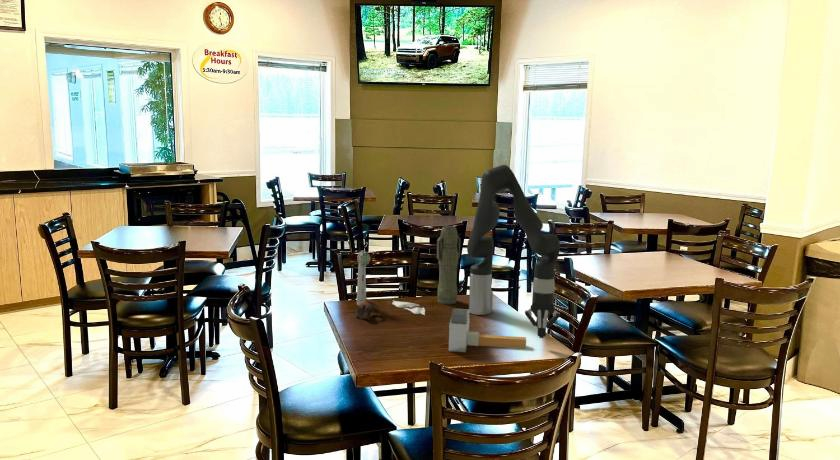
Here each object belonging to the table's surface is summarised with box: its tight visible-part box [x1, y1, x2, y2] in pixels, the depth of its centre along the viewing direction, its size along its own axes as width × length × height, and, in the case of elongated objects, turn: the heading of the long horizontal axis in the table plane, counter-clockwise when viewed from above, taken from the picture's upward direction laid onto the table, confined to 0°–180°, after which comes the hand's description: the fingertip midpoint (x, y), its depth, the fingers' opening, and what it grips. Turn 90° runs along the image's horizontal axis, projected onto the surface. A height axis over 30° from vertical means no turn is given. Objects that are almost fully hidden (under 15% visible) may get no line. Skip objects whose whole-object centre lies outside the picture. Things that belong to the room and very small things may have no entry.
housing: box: [448, 308, 471, 353], centre depth 229 cm, size 6×20×13 cm, turn 173°
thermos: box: [436, 225, 461, 305], centre depth 285 cm, size 9×12×35 cm
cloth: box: [391, 299, 426, 316], centre depth 277 cm, size 26×14×2 cm, turn 24°
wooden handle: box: [467, 330, 527, 349], centre depth 228 cm, size 23×4×4 cm, turn 83°
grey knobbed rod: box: [356, 250, 371, 307], centre depth 276 cm, size 5×7×25 cm
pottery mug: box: [355, 298, 381, 320], centre depth 260 cm, size 12×9×8 cm
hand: (541, 337), depth 225 cm, fingers closed
